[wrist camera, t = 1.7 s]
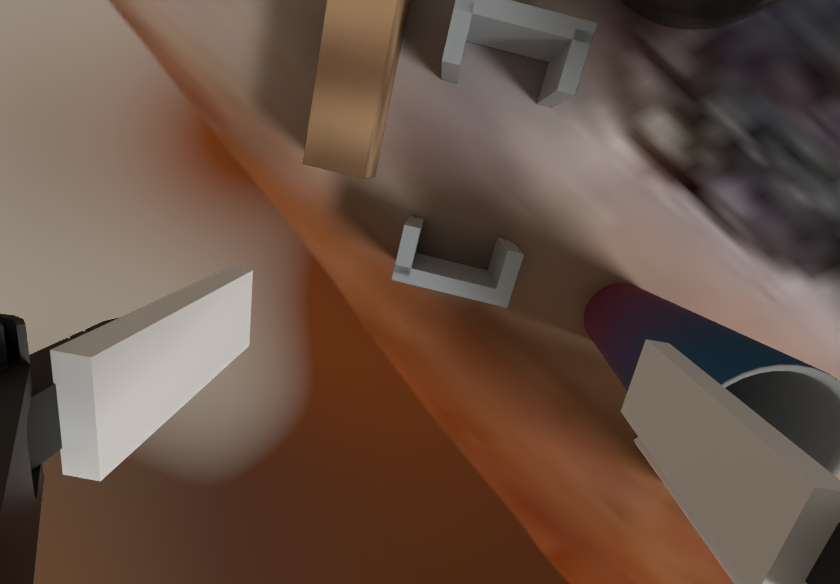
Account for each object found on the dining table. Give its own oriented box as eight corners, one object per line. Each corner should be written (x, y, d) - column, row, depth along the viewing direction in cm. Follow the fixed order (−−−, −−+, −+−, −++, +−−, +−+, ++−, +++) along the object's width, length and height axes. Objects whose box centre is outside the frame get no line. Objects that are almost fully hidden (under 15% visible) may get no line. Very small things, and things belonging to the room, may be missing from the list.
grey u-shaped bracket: (551, 107, 28) (574, 95, 23) (441, 79, 27) (441, 60, 23) (569, 49, 27) (597, 22, 22) (455, 19, 26) (458, -14, 22)
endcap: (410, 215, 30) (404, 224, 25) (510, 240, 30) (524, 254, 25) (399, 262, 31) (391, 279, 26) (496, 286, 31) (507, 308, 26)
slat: (357, -33, 26) (339, -79, 21) (414, -19, 26) (408, -60, 21) (325, 164, 29) (302, 163, 25) (375, 176, 30) (362, 178, 25)
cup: (562, 286, 31) (668, 389, 17) (657, 259, 30) (857, 344, 16) (581, 367, 33) (692, 525, 18) (672, 344, 32) (864, 490, 17)
